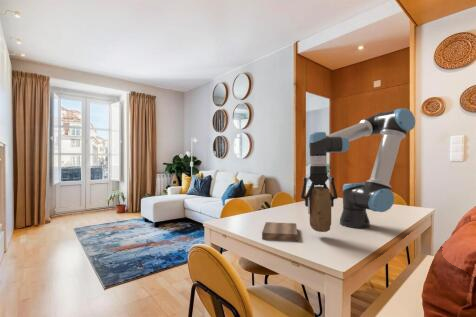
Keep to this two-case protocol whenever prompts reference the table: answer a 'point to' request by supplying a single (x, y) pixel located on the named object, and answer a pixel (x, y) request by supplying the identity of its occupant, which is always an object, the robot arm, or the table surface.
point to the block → (320, 209)
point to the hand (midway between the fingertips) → (319, 213)
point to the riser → (280, 231)
